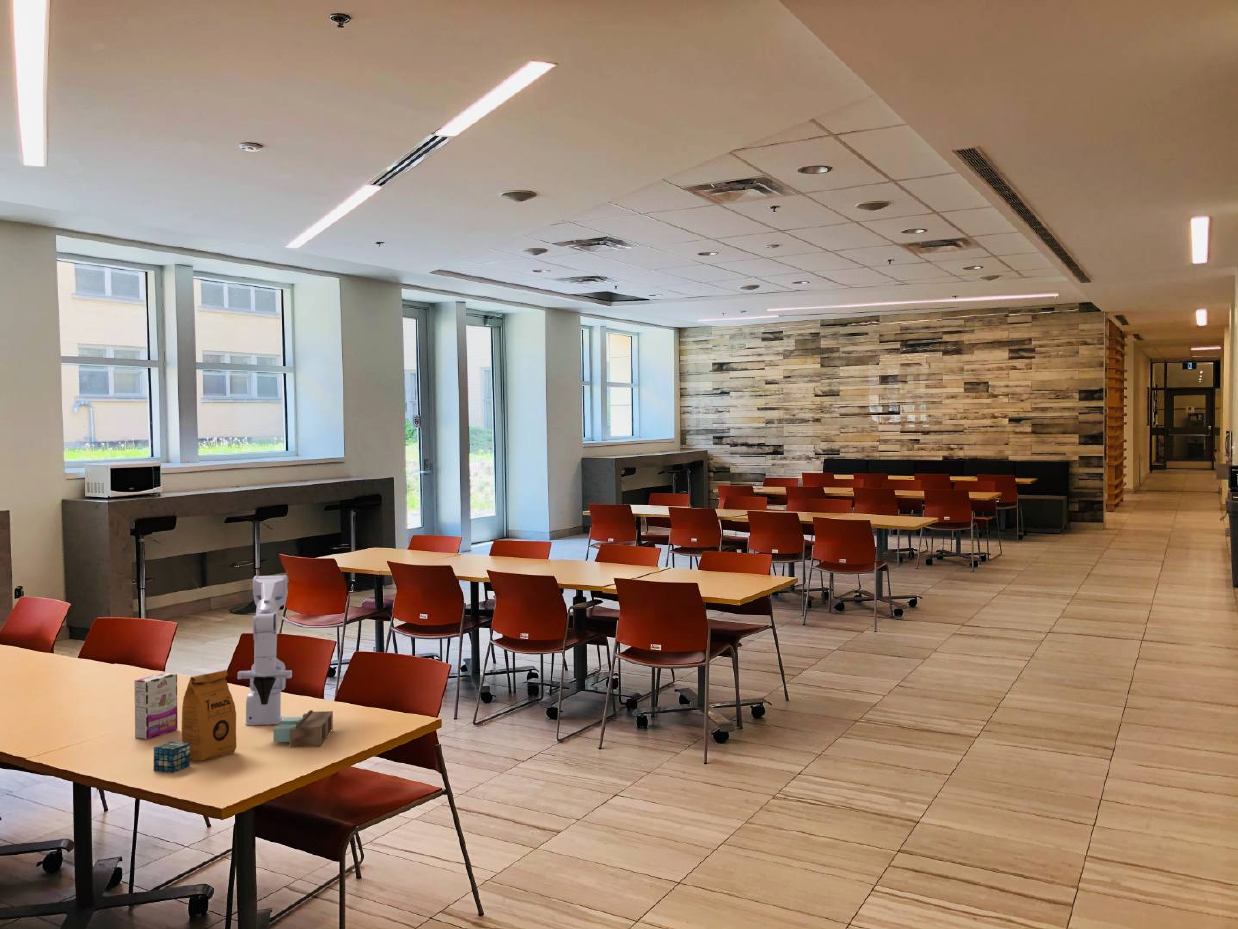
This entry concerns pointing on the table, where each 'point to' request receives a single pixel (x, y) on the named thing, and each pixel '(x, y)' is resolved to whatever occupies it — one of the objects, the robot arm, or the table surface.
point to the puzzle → (171, 757)
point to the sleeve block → (311, 729)
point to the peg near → (282, 733)
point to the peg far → (290, 720)
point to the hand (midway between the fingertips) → (264, 704)
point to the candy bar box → (155, 705)
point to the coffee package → (209, 717)
